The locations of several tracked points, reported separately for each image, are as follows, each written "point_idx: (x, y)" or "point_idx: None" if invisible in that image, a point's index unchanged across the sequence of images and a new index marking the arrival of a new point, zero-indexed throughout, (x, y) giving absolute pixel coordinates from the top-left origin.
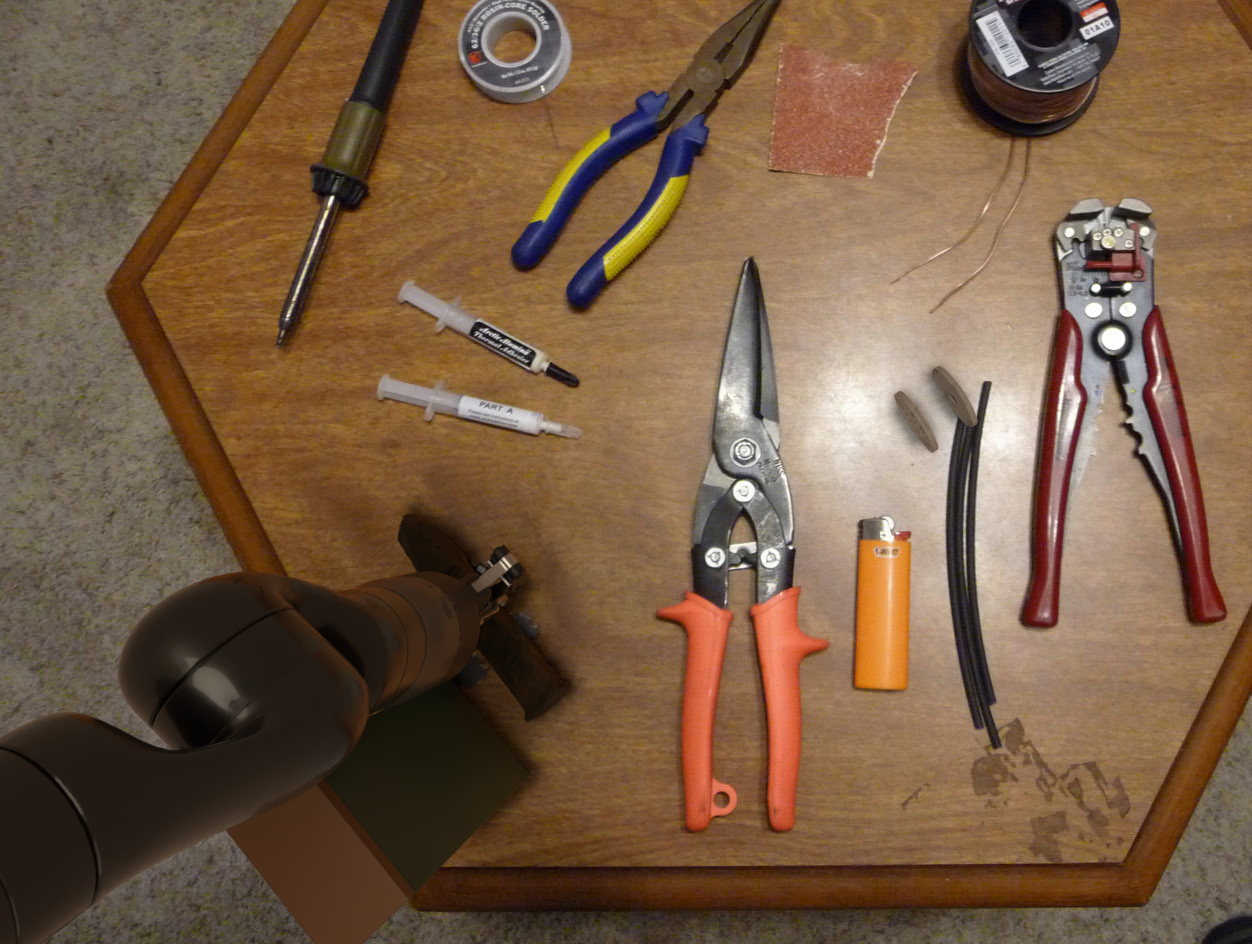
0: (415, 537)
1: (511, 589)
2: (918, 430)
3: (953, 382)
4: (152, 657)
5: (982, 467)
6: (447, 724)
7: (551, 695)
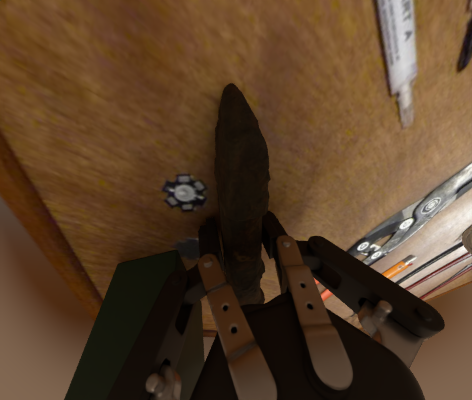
0: (256, 155)
1: (328, 289)
2: None
3: None
4: None
5: (450, 253)
6: (185, 345)
7: None
